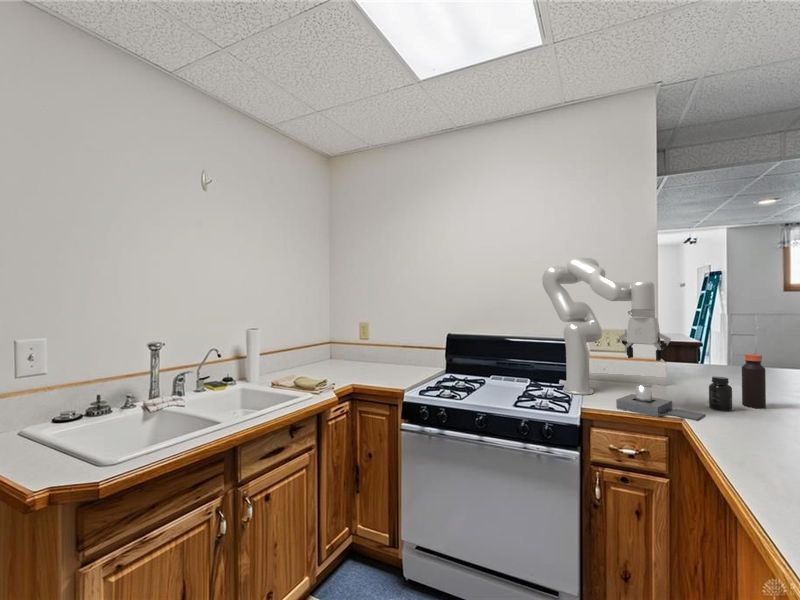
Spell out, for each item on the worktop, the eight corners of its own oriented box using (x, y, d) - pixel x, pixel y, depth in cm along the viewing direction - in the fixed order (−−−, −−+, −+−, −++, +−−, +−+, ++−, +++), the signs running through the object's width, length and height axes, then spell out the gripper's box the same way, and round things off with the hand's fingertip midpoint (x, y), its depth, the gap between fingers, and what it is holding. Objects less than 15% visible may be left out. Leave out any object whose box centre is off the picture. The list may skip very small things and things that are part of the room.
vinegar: (770, 409, 145) (769, 356, 145) (749, 408, 147) (749, 355, 147) (757, 404, 152) (757, 353, 152) (737, 403, 153) (737, 353, 153)
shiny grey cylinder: (633, 409, 148) (633, 384, 148) (639, 406, 151) (639, 382, 151) (649, 412, 143) (648, 387, 143) (654, 409, 147) (654, 385, 147)
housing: (616, 408, 148) (616, 399, 148) (631, 402, 157) (631, 393, 157) (657, 417, 137) (657, 407, 137) (672, 409, 146) (672, 400, 146)
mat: (666, 414, 140) (666, 413, 140) (675, 410, 145) (675, 408, 145) (697, 420, 133) (697, 419, 133) (705, 415, 138) (705, 414, 138)
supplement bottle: (736, 412, 142) (736, 379, 142) (715, 411, 144) (715, 379, 144) (725, 407, 149) (724, 376, 149) (705, 406, 150) (704, 375, 150)
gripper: (614, 314, 152) (615, 357, 151) (665, 314, 138) (666, 362, 138) (623, 313, 156) (624, 356, 156) (673, 314, 142) (674, 360, 142)
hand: (644, 359), depth 147 cm, fingers open, 9 cm apart
